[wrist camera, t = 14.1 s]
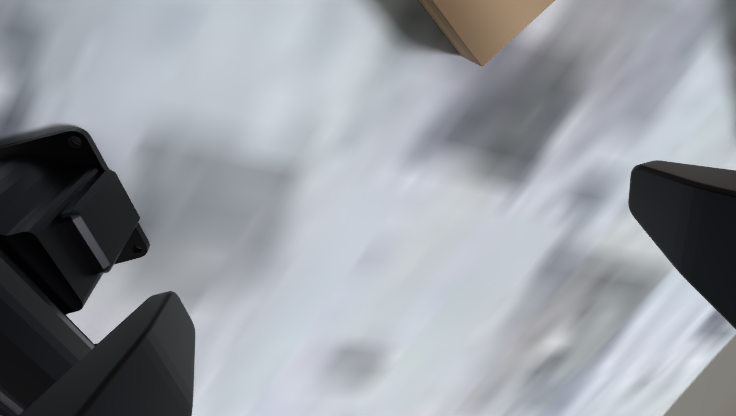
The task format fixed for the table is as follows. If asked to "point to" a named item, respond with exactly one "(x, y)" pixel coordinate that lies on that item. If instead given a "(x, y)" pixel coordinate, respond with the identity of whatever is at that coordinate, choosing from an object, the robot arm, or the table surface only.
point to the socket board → (483, 23)
